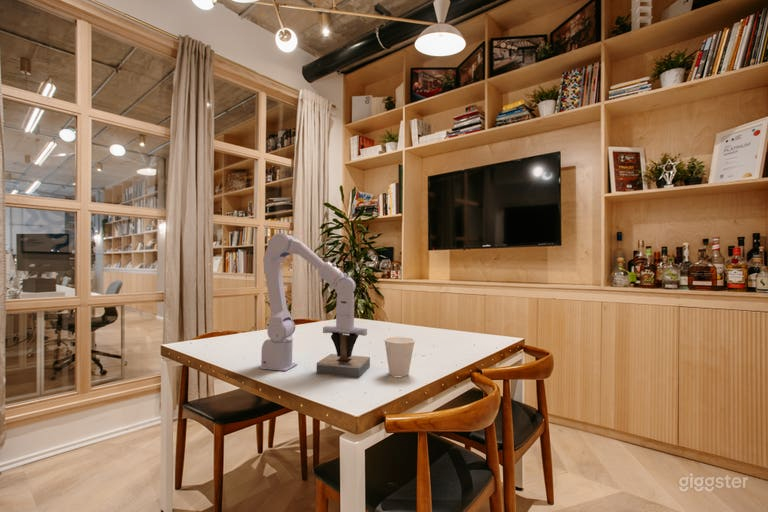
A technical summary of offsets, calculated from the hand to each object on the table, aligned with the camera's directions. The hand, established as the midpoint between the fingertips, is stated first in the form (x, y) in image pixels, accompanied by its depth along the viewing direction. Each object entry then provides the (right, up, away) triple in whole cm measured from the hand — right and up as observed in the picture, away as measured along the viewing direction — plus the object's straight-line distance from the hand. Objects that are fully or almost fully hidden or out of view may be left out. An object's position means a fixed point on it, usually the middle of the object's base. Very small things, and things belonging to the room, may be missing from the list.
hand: (344, 356), depth 121 cm
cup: (+18, -5, -3) cm, 19 cm away
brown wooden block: (0, -2, 0) cm, 2 cm away
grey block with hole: (0, -5, 0) cm, 4 cm away
